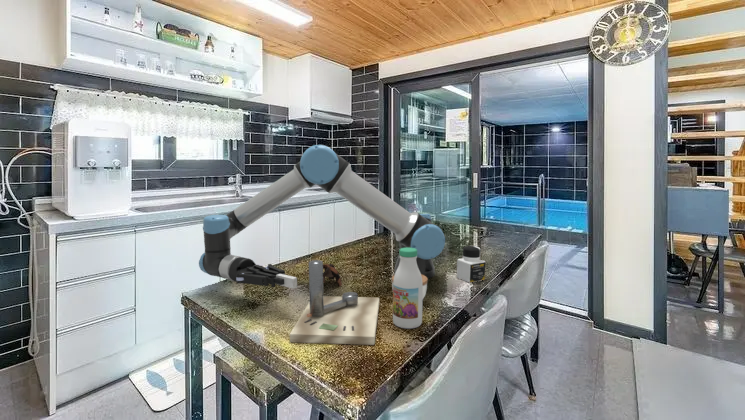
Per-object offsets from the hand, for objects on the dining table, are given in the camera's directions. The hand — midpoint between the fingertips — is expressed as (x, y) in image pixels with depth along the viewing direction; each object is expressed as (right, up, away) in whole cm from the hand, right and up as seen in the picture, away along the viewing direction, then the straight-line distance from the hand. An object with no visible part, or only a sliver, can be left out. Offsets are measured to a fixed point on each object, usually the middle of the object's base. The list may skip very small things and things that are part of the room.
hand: (295, 283), depth 96 cm
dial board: (+12, -10, -1) cm, 16 cm away
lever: (+10, -7, 0) cm, 12 cm away
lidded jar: (+32, -8, +11) cm, 35 cm away
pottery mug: (+6, -6, +28) cm, 29 cm away
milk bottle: (+30, -10, -2) cm, 32 cm away
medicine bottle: (+57, -5, +33) cm, 66 cm away
